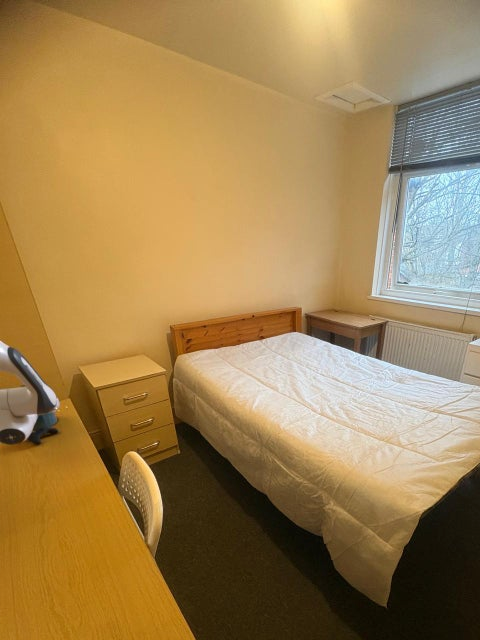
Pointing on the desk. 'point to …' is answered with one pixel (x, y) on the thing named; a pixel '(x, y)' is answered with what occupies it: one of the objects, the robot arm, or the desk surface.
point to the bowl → (45, 420)
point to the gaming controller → (39, 432)
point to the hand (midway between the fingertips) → (30, 399)
